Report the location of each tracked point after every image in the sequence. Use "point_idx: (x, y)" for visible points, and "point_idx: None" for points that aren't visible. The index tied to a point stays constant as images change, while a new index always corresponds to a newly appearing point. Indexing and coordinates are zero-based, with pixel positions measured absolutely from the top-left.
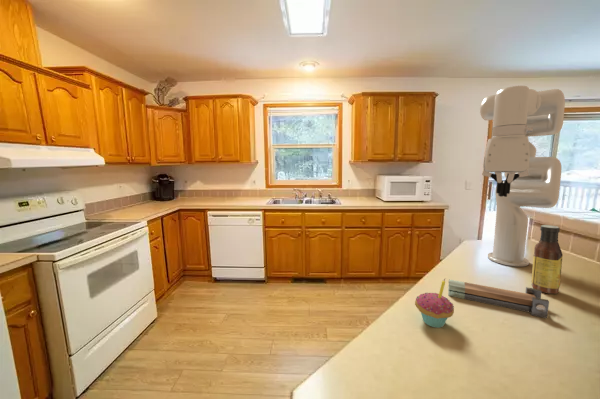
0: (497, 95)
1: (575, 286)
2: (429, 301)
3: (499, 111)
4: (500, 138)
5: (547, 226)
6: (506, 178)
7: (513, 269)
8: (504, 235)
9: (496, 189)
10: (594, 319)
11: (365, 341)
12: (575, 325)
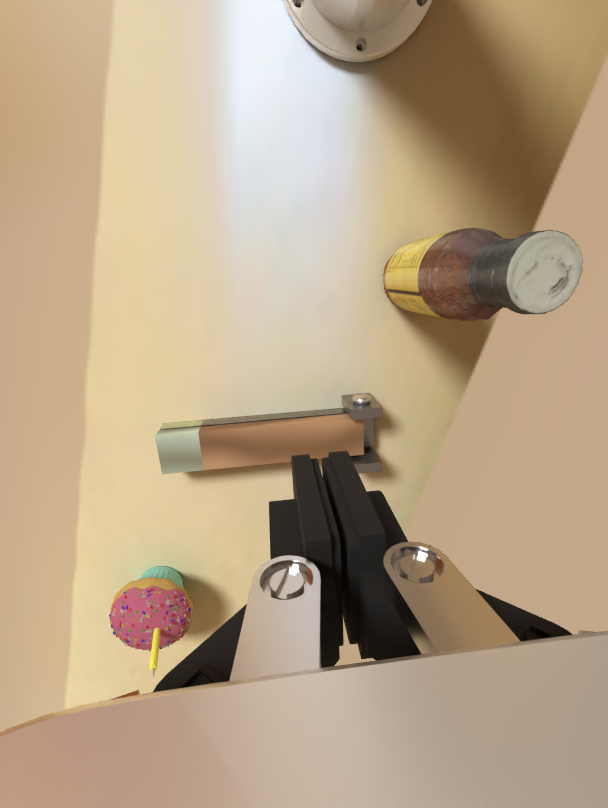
0: None
1: (507, 193)
2: (141, 648)
3: None
4: None
5: (531, 283)
6: (402, 611)
7: (360, 104)
8: None
9: (270, 527)
10: (459, 403)
11: (77, 686)
12: (413, 451)
